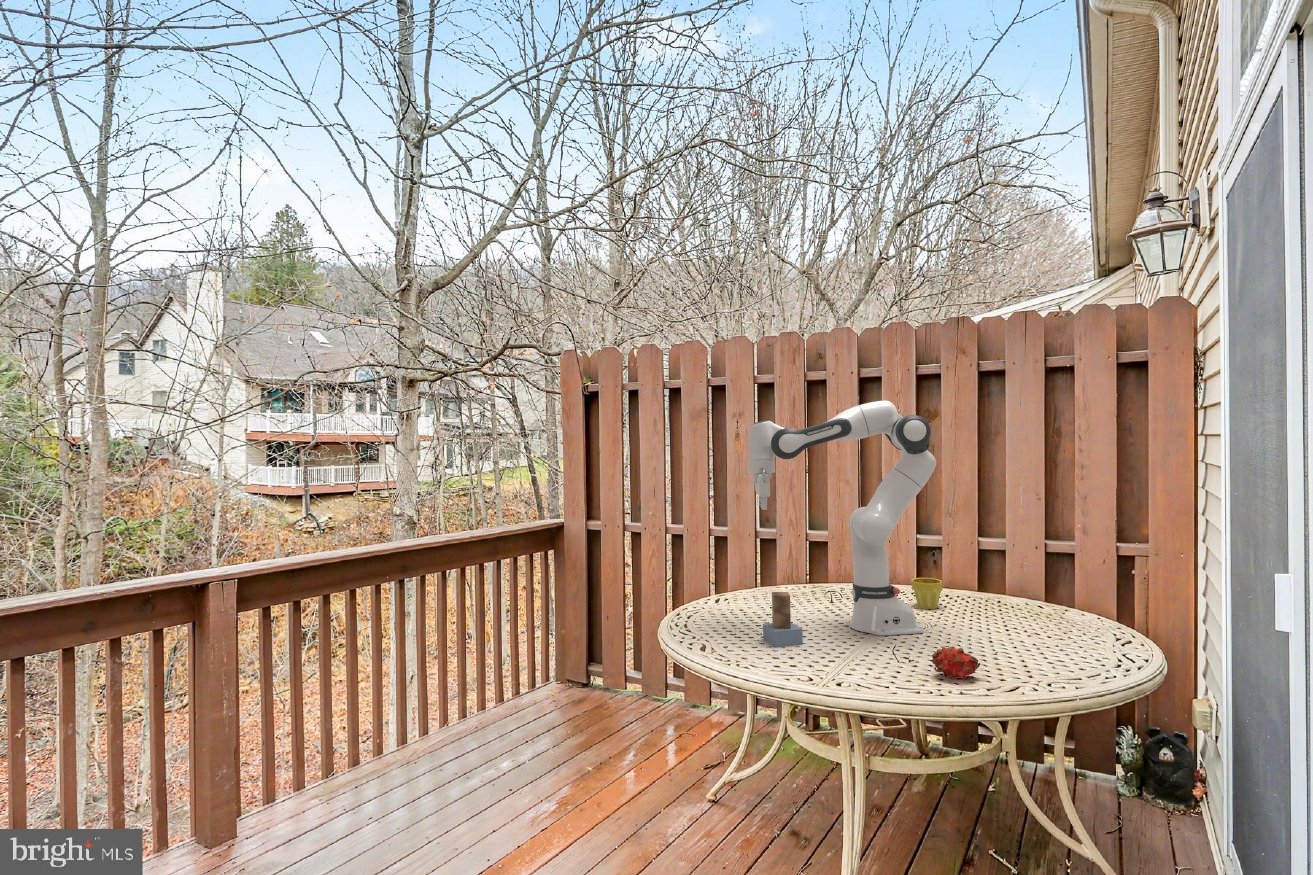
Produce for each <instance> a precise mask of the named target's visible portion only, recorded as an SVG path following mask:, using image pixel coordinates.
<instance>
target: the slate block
mask: <svg viewBox="0 0 1313 875" xmlns="http://www.w3.org/2000/svg"><path fill="white" fill-rule="evenodd" d="M803 633H804V632H803V628H801V626H798V625H796V624H794V622H793V623H792V622H791V629H774V627H773V624H772V622H770V623H763V624H762V639H763V640H764V641H765V642H766V643H768V644H770V645H771V646H772V647H774V648H776V649H777V648H785V647H786V648H787V647H793V646H794V645H795V646H802V645H803V644H804V638H803V637H804V634H803Z"/></svg>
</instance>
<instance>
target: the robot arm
mask: <svg viewBox="0 0 1313 875" xmlns="http://www.w3.org/2000/svg"><path fill="white" fill-rule="evenodd" d="M930 425H931V424H930V423H929V422H928V421H927V420H926V419H925V418H924V417H922V416H921V415H918V414H917V415H916V414H909V415H905V416H902V415H900V413H898V409H897V407H896V405H895V404H894V403H892V402H891V401H890V400H877V401H871V402H867V403H862V404H859V405H855V406H852V407H850V408H848V409H846V410H844V411H842V412H840V413H838V414H836V415H835V416H834V417H832V418H831V419H829V420H827V421H825V422H822V423H819V424H815V425H812V426H808V427H806V428H805V427H804V428H800V429H799V428H798V429H795V428H787V427H782V426H780V425H778V424H776V423H774V422H772V421H771V420H767V419H766V420H762V421H757V422H754V423H752V424H751V425H750V426H749V428H748V433H747V434H748V436H747V437H748V438H747V445H748V451H749V457H748V474H752V478H753V482H754V488H755V493H756V495H758V501H759V507H760V508H761V510H762V511H766V510H768V498H769V497H770V496H771V482H770V480H771V478H772V474H775V473H776V461H775V458H776V457H778V458H780V459H782V460H791V459H794V458H796V457H797V456H798V455H800V454H801V453H802V452H803V451H804V450H806V449H808V448H811V447H815V446H818V445H821V444H825V443H829V442H832V441H857V440H861V439H867V438H869V437H873V436H876V435H881V434H884V435H885V436H886V438H887V440H888V441H889V442H890V444H891V445H892V446H893V447H894V448H896V449H897V450H899V451H901V455H900V458H899V460H898V461H897V463H896V464H895V465H894V466H893V467H892V468H891V469H890V471H889V472H888V474H886V476H885V478H884V479H883V480H882V481H881V482H880V484H879V485H878V486H877V488H876V490H875V492H874V494H873V495H872V497H871V498H870V500H869V502H868V503H867V505H866V506H862V507H861V506H860V507H859V508H856V509H855V510H854V511H852V513H851V514H850V515H849V521H848V523H849V535H850V536H849V538H850V544H851V545H850V546H851V552H852V564H853V583H852V588H851V590H852V591H851V592H852V593H851V594H852V600H853V606H852V607H853V610H852V615H851V621H850V624H849V627H850V628H852V629H853V630H856V631H859V632H863V633H868V634H872V635H875V636H896V635H911V634H915V635H916V634H923V633H924V632H925V628H924V626H923V624H921V623H920V622H918V621H917V619H916V615H915V612H914V610H913V609H912V608H911V607H910V606H909V605H908V604H907V603H905V602H904V601H903V600H901V599H900V598H899V597H897V596H898V595H900V593H901V590H900V588H898V587H896V586H893V585H892V584H891V583H890V569H889V568H890V563H889V557H888V553H887V552H888V551H887V547H886V542H887V541H888V540H889V539H890V538H891V536H892V534H893V531H894V530H895V528H896V527H897V525H898V524H899V522H900V519H901V518H902V516H903V515H904V513H905V512H906V510H907V508H908V507H909V506H910V505H911V503H912V501H913V500H914V499H915V498H916V497H917V495H918V494H919V493H920V492H921V491H922V490H923V488H924V487H925V485H927V483H928V481H929V479H930V478H931V477H932V474H933V473H934V471H935V469H936V468H937V460H936V457H935V456H934V454H932V453H931V452H930V451H929V448H930V443H931V435H932V431H931V430H932V429H931V428H932V427H931V426H930ZM896 595H897V596H896Z"/></svg>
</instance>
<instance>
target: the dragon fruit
mask: <svg viewBox="0 0 1313 875" xmlns="http://www.w3.org/2000/svg"><path fill="white" fill-rule="evenodd" d="M939 647H940V648H939V649H937V650H936V652H934V653H932V656H931V657H932V659H931V662H932V664H933V665H934V668H933V669H934V671H935V672H936V673H943V676H944V677H945V678H949V677H950V678H951V679H953V680H957V679H964V680H965V681H967V680H971V679H973V676H972V674H974V673H976V671H977V670H978V669H979V668H980V666H981V663H980V662H979V660H978V658H977V657H975V656H973V655H971V654H970V653H966V652H965V650H964V648H962V647H960V648H958V649H956V647H955V646H949V647H947V648H946V647H945V646H939Z"/></svg>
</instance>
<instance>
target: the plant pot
mask: <svg viewBox="0 0 1313 875" xmlns="http://www.w3.org/2000/svg"><path fill="white" fill-rule="evenodd" d="M911 589H912V590H913V591H914V596H915V599H916V604H917V607H918V608H919V607H921V608H920V609H922V608H925V609H924V610H937V609H938V607H939V602H940V597H941V592H942V591H943V581H942V580H941V579H938V578H933V577H915V578H912V579H911Z"/></svg>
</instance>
